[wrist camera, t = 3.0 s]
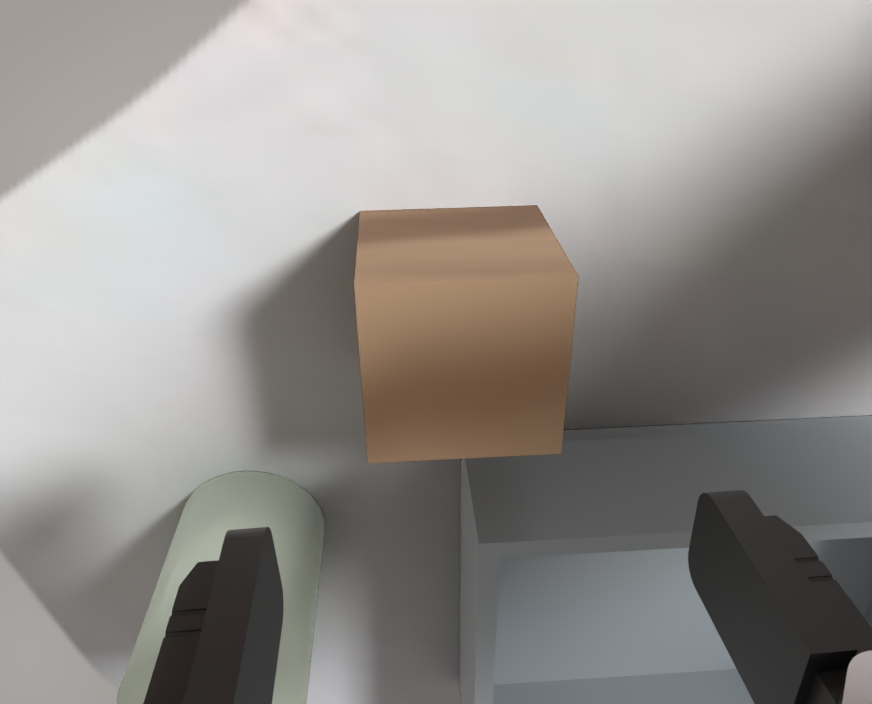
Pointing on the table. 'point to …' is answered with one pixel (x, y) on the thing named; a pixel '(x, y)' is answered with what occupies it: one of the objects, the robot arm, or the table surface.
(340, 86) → the table surface
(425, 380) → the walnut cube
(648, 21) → the table surface
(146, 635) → the sage cylinder
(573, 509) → the tote
